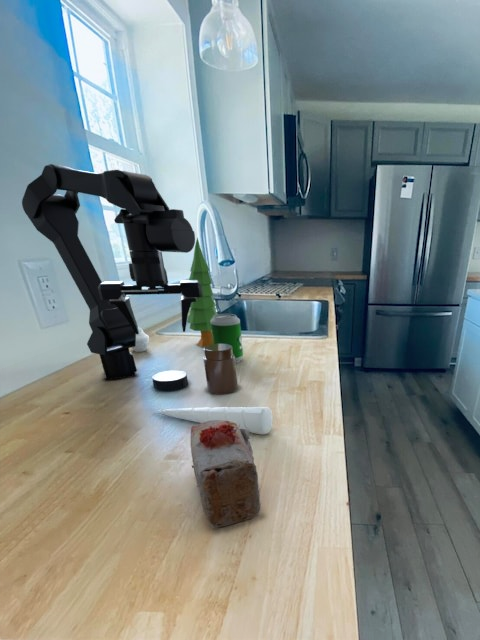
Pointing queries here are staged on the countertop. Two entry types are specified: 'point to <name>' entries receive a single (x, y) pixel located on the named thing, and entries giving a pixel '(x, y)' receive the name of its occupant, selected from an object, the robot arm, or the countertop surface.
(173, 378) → the jar lid
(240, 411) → the unicorn horn
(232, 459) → the food item
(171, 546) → the countertop surface
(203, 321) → the decorative tree
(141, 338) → the garlic bulb
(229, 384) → the coffee jar
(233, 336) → the soda can
